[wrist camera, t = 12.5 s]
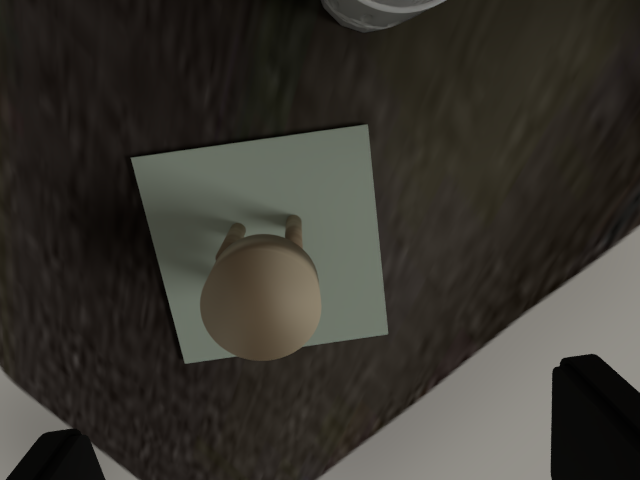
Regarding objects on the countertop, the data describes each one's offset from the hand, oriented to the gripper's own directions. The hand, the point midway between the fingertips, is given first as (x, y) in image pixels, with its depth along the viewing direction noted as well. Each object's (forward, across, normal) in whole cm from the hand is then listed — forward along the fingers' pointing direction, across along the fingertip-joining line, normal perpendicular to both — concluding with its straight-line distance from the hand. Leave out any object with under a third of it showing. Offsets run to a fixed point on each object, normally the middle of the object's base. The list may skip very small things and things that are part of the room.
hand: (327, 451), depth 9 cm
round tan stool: (+23, +4, +3) cm, 24 cm away
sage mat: (+24, +4, +4) cm, 24 cm away
